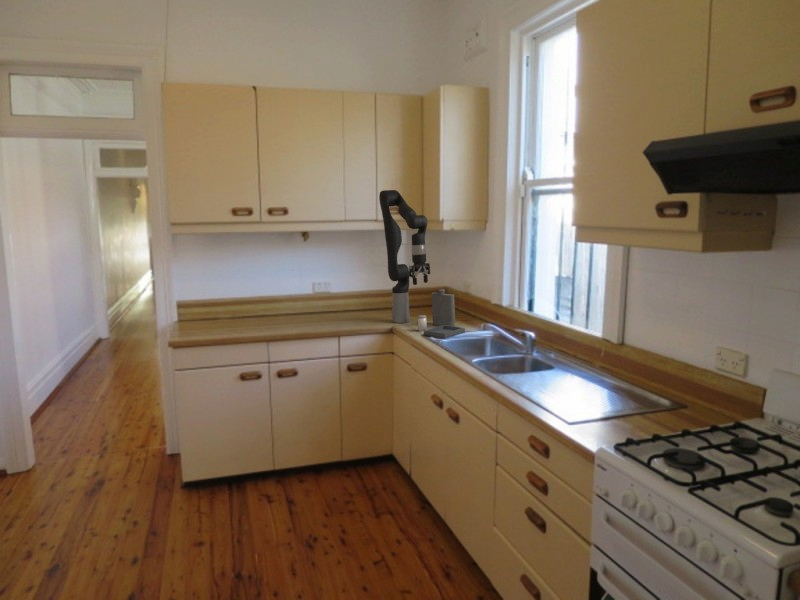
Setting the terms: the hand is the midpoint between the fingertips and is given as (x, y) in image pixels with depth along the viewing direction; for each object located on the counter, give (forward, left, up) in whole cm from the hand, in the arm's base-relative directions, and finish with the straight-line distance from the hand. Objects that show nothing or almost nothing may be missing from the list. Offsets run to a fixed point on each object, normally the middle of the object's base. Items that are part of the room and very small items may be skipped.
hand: (420, 283), depth 303 cm
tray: (+18, -3, -25) cm, 31 cm away
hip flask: (+4, +13, -25) cm, 28 cm away
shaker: (+3, -3, -25) cm, 25 cm away
